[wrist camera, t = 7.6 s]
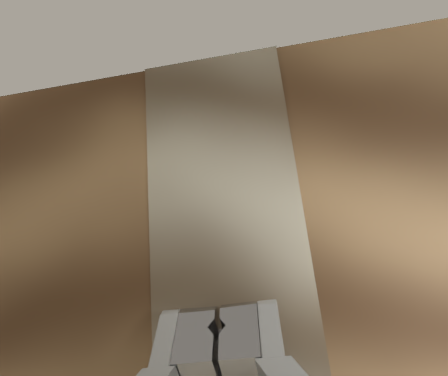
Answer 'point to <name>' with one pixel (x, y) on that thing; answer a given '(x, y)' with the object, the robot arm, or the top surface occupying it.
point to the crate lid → (234, 206)
